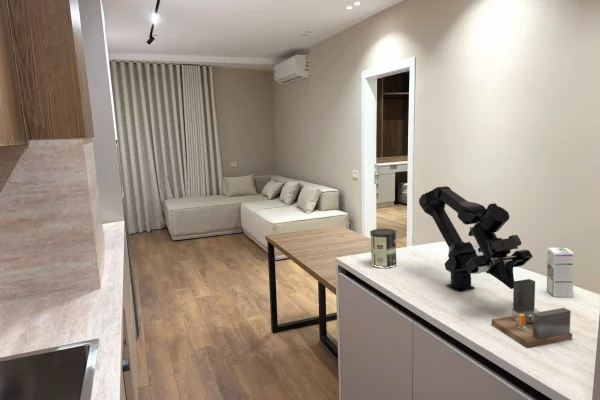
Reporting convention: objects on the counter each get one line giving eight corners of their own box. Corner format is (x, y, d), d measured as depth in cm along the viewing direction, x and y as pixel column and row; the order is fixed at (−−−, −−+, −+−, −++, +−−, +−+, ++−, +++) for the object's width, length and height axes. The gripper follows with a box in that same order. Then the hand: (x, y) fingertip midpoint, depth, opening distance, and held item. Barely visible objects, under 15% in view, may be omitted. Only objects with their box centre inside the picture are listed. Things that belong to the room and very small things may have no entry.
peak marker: (518, 325, 108) (518, 314, 108) (522, 324, 108) (522, 313, 108) (521, 326, 107) (521, 315, 107) (525, 326, 108) (525, 315, 107)
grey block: (472, 274, 152) (472, 252, 151) (448, 265, 164) (448, 244, 163) (494, 270, 156) (494, 247, 155) (468, 261, 168) (468, 240, 167)
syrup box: (573, 297, 128) (575, 252, 125) (552, 297, 129) (554, 252, 127) (565, 290, 133) (567, 247, 131) (545, 290, 134) (547, 247, 132)
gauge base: (491, 324, 114) (491, 298, 112) (532, 317, 116) (532, 292, 115) (527, 347, 101) (528, 319, 100) (572, 339, 103) (573, 311, 102)
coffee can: (393, 260, 175) (393, 227, 172) (399, 268, 164) (398, 233, 162) (369, 261, 175) (368, 229, 173) (373, 269, 165) (372, 235, 163)
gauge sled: (506, 318, 113) (507, 282, 111) (530, 314, 114) (531, 278, 112) (521, 327, 107) (522, 289, 106) (545, 323, 109) (547, 285, 107)
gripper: (471, 229, 116) (497, 279, 107) (528, 222, 120) (558, 270, 111) (455, 249, 125) (478, 297, 116) (509, 242, 129) (535, 288, 120)
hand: (512, 288), depth 115 cm, fingers closed
